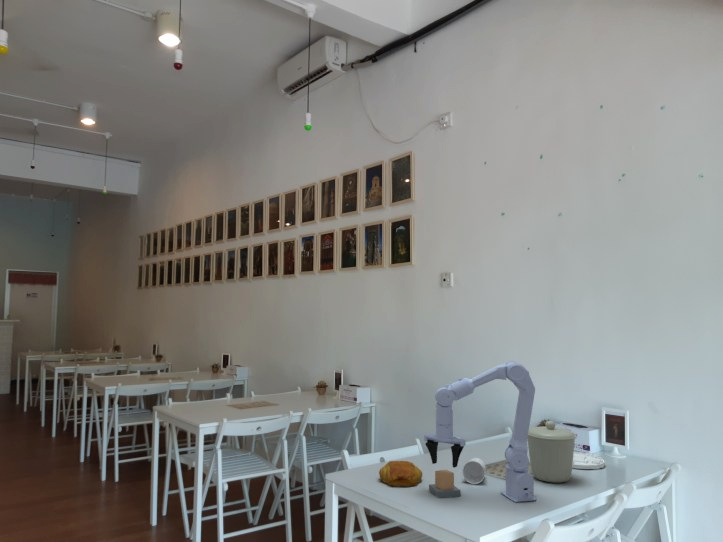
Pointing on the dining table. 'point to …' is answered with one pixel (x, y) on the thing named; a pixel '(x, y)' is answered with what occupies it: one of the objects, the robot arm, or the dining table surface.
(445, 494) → the slate coaster
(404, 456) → the dining table surface
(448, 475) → the tan rectangular block
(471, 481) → the white cup
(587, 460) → the embossed medallion
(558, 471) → the canister
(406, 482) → the croissant
